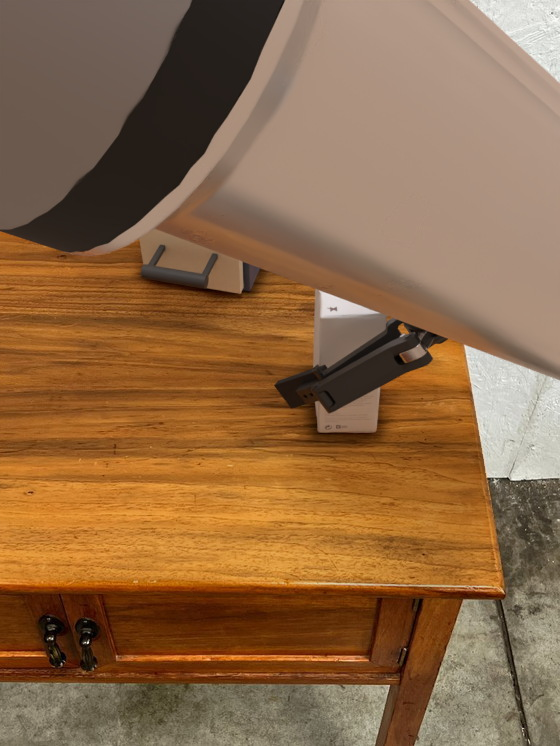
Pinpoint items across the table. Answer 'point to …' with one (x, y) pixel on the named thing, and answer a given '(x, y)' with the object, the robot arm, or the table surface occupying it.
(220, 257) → the drawer
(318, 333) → the cosmetic box
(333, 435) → the table surface
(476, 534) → the table surface
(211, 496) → the table surface
